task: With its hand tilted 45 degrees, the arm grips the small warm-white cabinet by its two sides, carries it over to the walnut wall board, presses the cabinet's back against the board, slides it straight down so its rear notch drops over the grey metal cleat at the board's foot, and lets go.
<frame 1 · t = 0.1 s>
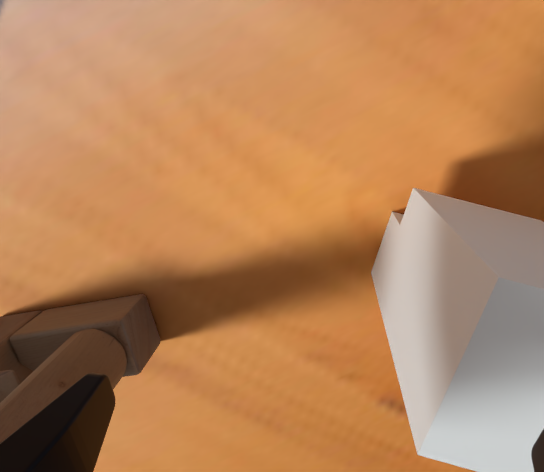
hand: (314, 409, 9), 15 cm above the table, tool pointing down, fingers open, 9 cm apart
cabinet: (440, 241, 23), on the table
wooden block: (81, 326, 28), on the table
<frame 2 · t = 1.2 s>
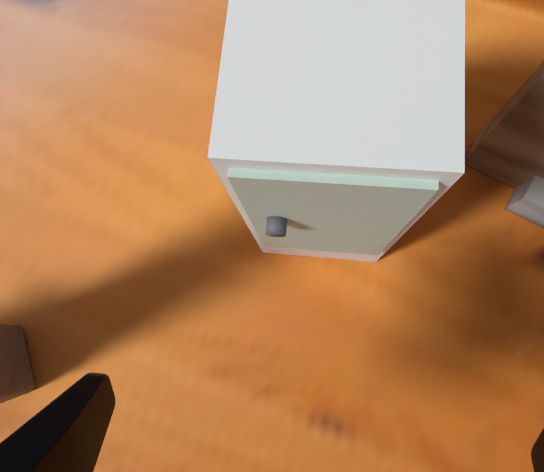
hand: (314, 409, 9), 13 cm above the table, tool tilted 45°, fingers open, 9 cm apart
cabinet: (322, 206, 23), on the table
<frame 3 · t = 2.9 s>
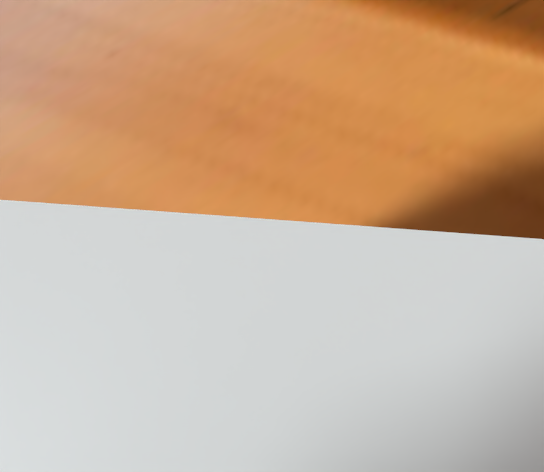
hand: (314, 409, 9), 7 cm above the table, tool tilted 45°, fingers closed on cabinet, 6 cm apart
cabinet: (311, 387, 15), on the table, touching gripper
when the fingers open (8 cm above the table, at t = 7.4 s): cabinet drops 1 cm, on the table.
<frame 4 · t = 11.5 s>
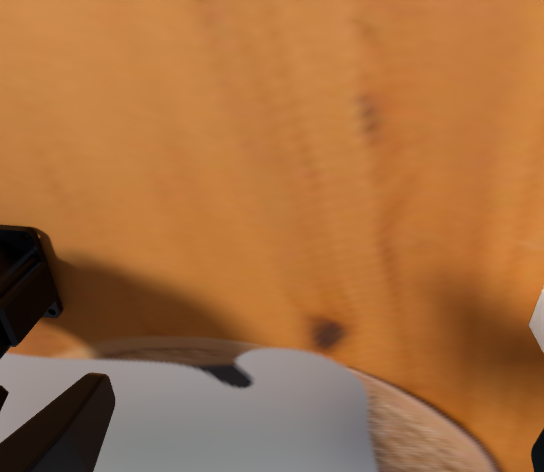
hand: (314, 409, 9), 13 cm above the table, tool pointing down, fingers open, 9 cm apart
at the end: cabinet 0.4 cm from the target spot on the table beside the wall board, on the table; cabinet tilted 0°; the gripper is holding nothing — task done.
